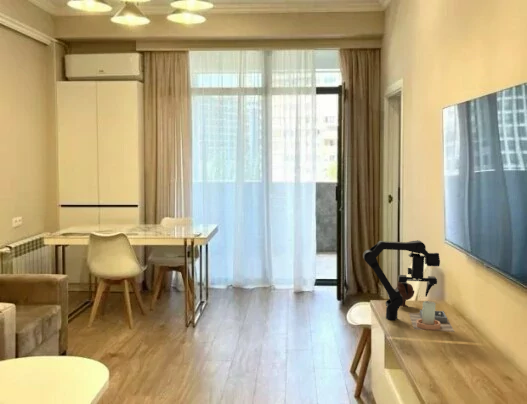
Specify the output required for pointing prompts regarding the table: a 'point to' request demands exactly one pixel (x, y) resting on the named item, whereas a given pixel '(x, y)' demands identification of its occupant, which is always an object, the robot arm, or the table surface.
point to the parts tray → (438, 316)
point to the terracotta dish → (433, 327)
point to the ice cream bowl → (403, 292)
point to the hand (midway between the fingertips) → (416, 296)
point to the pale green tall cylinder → (428, 313)
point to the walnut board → (443, 327)
